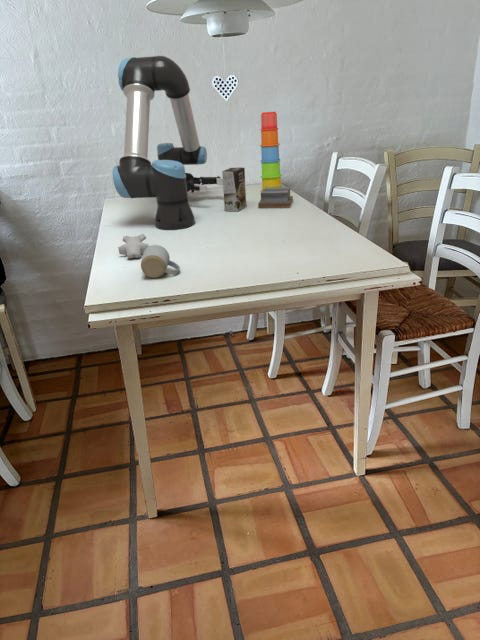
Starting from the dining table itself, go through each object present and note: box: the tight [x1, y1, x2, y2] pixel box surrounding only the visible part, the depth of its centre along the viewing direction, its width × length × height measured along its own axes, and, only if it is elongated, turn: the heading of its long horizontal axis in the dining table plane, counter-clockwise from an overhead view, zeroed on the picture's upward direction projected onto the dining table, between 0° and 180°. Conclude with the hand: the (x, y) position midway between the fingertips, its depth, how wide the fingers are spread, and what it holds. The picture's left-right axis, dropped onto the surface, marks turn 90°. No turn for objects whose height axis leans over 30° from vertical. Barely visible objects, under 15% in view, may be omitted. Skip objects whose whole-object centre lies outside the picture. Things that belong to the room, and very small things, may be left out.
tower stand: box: [257, 186, 294, 209], centre depth 201 cm, size 13×13×6 cm
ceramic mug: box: [140, 244, 181, 279], centre depth 136 cm, size 11×8×8 cm
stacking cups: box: [259, 111, 283, 193], centre depth 216 cm, size 10×10×35 cm
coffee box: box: [222, 167, 247, 213], centre depth 196 cm, size 9×6×16 cm
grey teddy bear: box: [117, 234, 150, 260], centre depth 155 cm, size 10×5×15 cm
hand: (217, 185), depth 202 cm, fingers open, 13 cm apart
